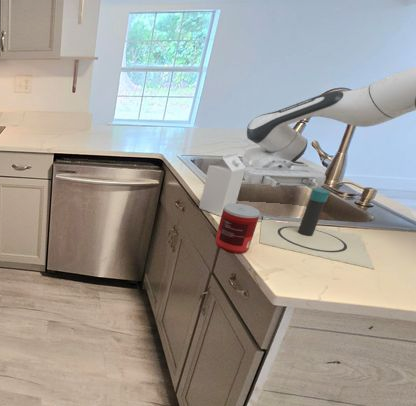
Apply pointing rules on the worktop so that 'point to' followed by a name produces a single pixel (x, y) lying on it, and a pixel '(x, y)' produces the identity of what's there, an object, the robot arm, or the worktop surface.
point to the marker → (313, 211)
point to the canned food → (236, 227)
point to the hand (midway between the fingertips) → (295, 185)
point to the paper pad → (316, 242)
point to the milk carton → (222, 183)
